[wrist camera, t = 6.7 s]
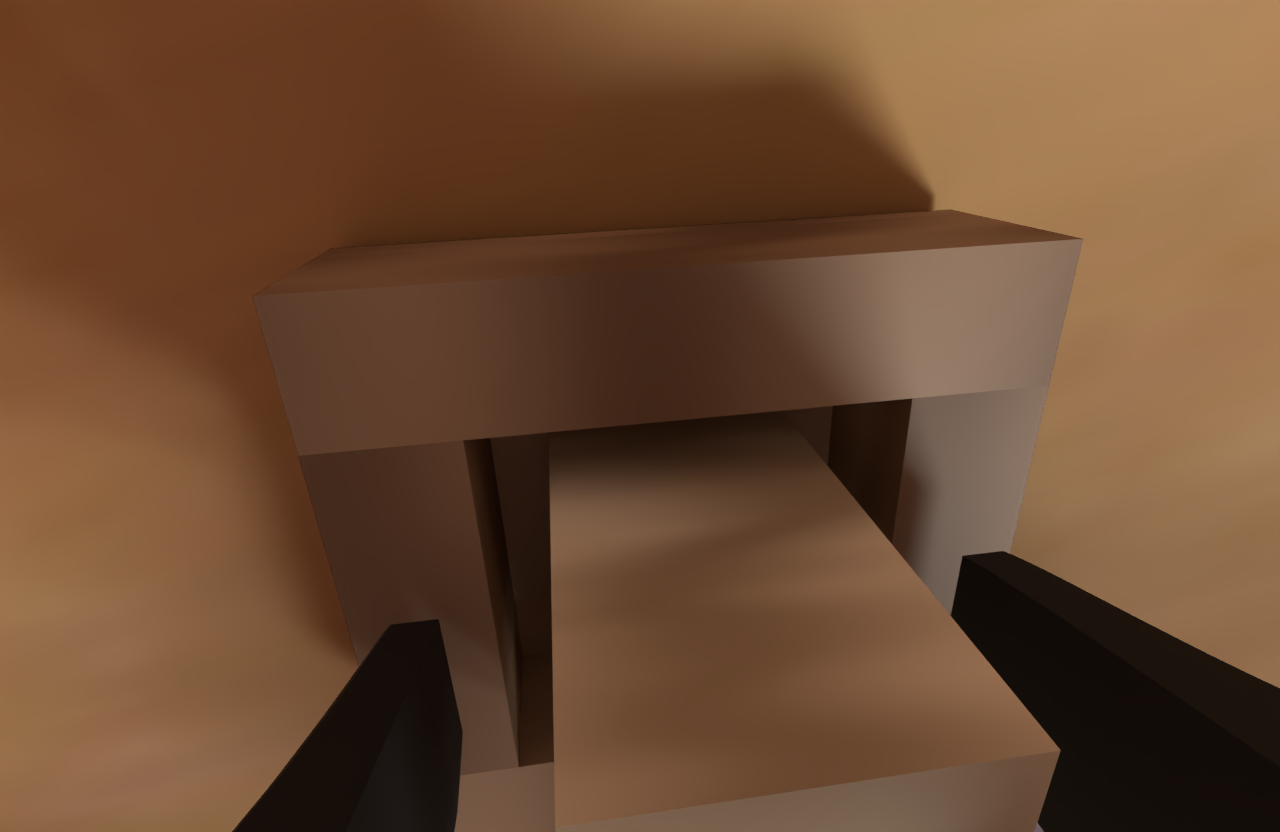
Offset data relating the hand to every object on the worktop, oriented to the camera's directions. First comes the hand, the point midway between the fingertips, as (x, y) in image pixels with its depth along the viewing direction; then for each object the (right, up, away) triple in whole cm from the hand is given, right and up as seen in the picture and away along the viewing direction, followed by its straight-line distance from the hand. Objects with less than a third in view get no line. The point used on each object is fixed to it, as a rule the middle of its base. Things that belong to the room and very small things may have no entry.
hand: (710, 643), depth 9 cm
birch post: (0, +1, +3) cm, 3 cm away
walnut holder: (0, +2, +4) cm, 4 cm away
